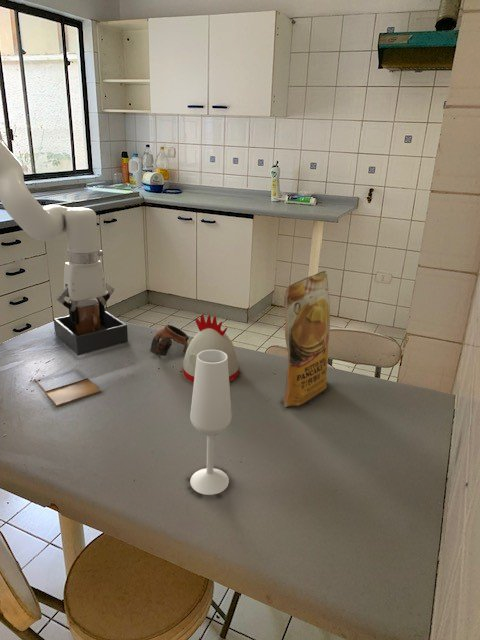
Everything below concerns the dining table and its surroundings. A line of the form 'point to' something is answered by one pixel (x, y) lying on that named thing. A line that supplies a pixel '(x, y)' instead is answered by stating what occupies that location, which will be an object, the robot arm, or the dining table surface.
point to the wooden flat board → (71, 392)
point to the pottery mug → (168, 340)
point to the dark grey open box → (91, 334)
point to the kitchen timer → (210, 347)
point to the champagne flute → (210, 414)
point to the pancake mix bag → (306, 338)
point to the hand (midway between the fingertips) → (87, 319)
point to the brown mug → (88, 317)
